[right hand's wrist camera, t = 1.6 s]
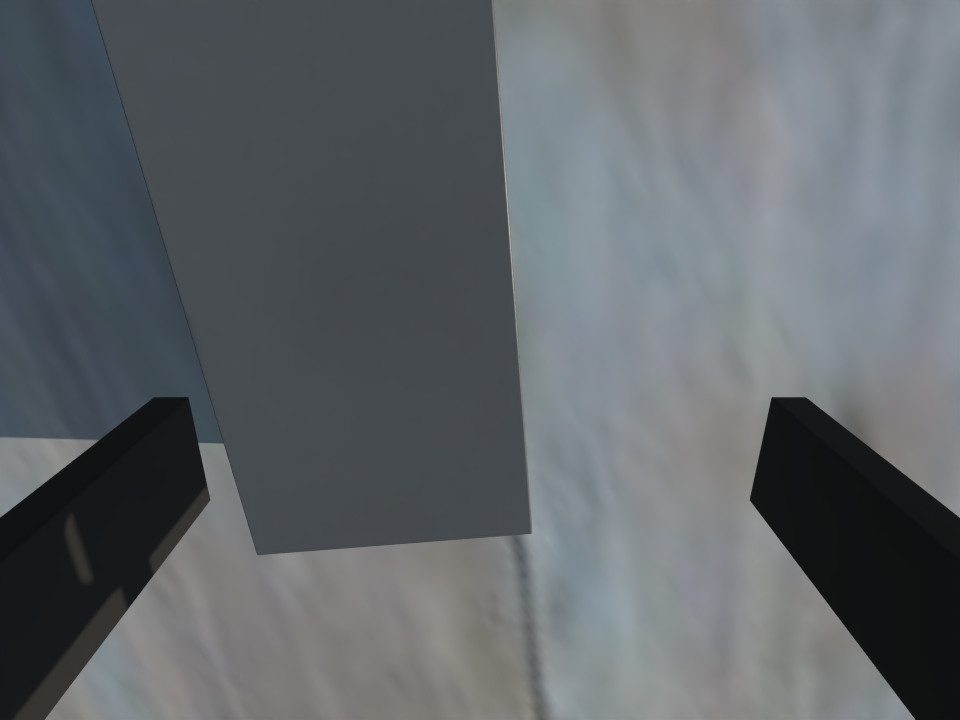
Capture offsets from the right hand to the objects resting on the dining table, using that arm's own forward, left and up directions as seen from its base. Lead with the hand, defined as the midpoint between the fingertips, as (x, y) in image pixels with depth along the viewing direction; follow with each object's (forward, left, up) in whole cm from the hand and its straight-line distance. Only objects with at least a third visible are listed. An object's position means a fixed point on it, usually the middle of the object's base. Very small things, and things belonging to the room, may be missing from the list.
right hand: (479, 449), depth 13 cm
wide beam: (+13, +29, -12) cm, 34 cm away
